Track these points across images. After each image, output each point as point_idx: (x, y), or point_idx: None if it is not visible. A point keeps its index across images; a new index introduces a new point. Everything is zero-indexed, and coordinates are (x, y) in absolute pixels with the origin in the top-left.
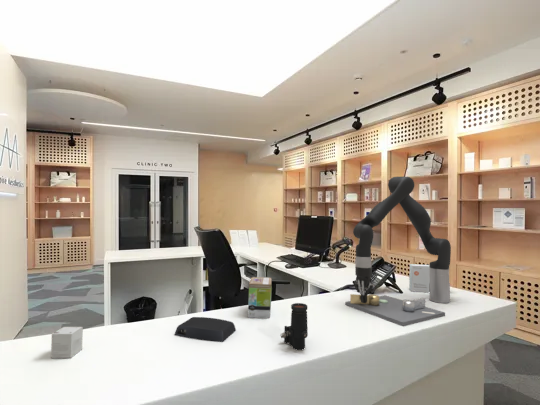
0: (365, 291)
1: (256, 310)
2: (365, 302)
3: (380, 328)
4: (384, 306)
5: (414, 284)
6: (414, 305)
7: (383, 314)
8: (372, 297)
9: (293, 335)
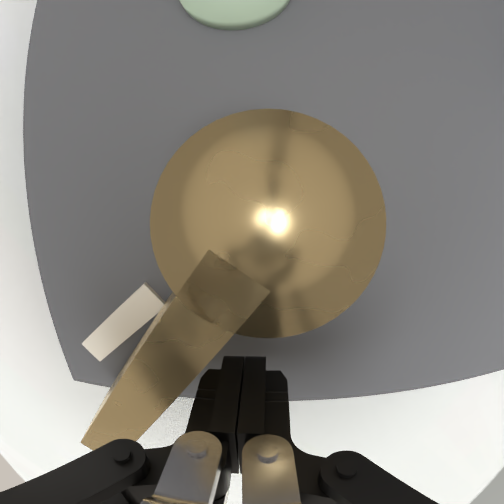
0: (248, 488)
1: None
2: (266, 371)
3: (493, 435)
4: (391, 135)
5: None
6: None
7: (490, 359)
8: (316, 320)
9: None
